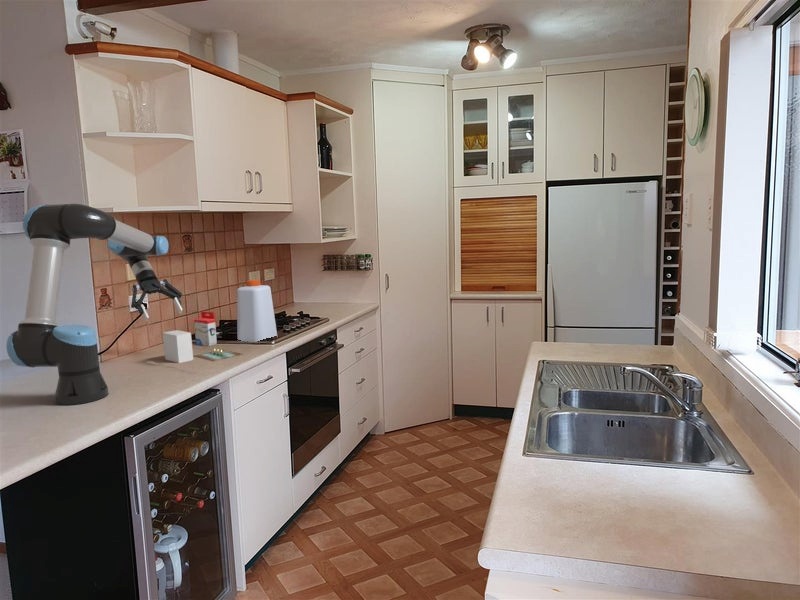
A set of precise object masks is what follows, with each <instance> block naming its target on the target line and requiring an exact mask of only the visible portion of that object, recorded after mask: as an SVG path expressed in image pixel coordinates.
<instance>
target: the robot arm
mask: <svg viewBox="0 0 800 600" xmlns="http://www.w3.org/2000/svg"><path fill="white" fill-rule="evenodd" d="M22 228H23V230H24V234H25V236H26V237H27V238H28V239H29V243H30V244H31V246H32V247H33V253H32V260H31V268H30V269H31V270H30V276H29V277H30V278H29V285H28V291H27V300H26V306H25V307H26V308H25V314H24V315H25V316H24V319H23V320H21V321H20V322H19V323H18V326H17V330H14V331H13V332H11V333H10V335H9V336H8V337H7V340H6V352H7V355H8V357H9V359H11V360H10V361H11V362H12V363H13V364H14V365H17V366H19V367H25V368H26V367H28V368H43V367H44V368H45V367H46V368H47V367H49V368H51V367H52V368H53V367H57V372H58V380H57V385H56V389H55V393H54V399H55V400H54V401H55V403H56V404H58V405H65V406H66V405H67V406H71V405H79V404H80V405H81V404H86V403H91V402H95V401H98V400H101V399H104V398H105V397H107V396H108V395H109V393H110V392H109V387H108V384H107V382H106V381H105V379H104V377H103V375H102V373H101V368H100V359H99V349H98V338H97V334H96V331H95V329H94V328H93V327H92V326H89V325H85V324H63V325H62V324H61V325H60V324H59V323H58V322H57V321H56V320H57V311H58V305H59V304H58V303H59V295H60V288H61V281H62V280H61V279H62V271H63V269H62V268H63V263H64V262H63V261H64V254H65V251H66V250H68V249H70V247H71V246H70V245H71V240H77V239H97V240H99V241H106V240H107V242H106V245H107V248H108V249H109V251H111V252H112V253H113V254H115V255H116V256H118V257H120V258H121V259H123V260H124V261H126V262H127V263H128V265H129V266H128V267H130V270H131V271H132V274H133V275H134V278H135V280H136V282H137V285H136V284H133V285H132V286H131V290H132V297H131V302H130V303H131V304H130V308H131V309H135V310H137V311H138V313H139V315H142V316H143V318H144V320H145V322H149V319H150V316H149V314H148V311H147V310H146V308H145V305H144V304H142V303H143V301H144V299H145V297H146V295H147V294H148V295H151V294H157V293H158V294H162V295H164V296H166V297H168V298H170V299H172V300H173V304H174V306H175V308H176V309H177V312H178V313H179V315H180V314H181V315H182V313H183V311H184V310H183V307H182V301H181V297H182V296H183V293H182V291H180V290H178V289H177V288H176V287H174V286H173V285H172V284H171V283H170V282H169V281H168V280H167V279H165V278H164V279H162V280H161V281H160V280H159V279H158V277H157V274H156V273H155V271H154V268H153V267H152V265H151V263H150V261H149V259H148V257H147V256H163V255H167V253H168V252H169V241H168V238H166V237H165V236H163V235H155V236H154V235H152V234H149V233H147V232H144V231H142V230H139V229H138V228H136V227H134V226H131V225H128V224H127V223H124V222H121V221H119V220H117V219H116V218H115V217H114V216H113V215H112V214H110V213H109V212H106V211H104V210H101V209H98V208H95V207H92V206H89V205H85V204H81V203H64V204H63V203H60V204H59V203H58V204H42V205H36V206H32V207H31V208H29V209H28V210H27V212H26V213H25V214H24V217H23V218H22ZM139 290H141V291H142V293H141V294H140V297H139V298H138V301H137V293H138V292H139ZM136 301H137V302H136Z"/></svg>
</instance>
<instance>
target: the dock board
mask: <svg viewBox="0 0 800 600" xmlns="http://www.w3.org/2000/svg"><path fill="white" fill-rule="evenodd" d="M220 350H222V353H223V356H220ZM242 355H244V353H241V352H236V351H232V350H226V349H223V348H222V349H219V355H217V353H216V354H215V355H213V351H209V352H204V353H200V354H195V355H193V358H196V359H197V358H198V359H200V360H201V359H202V360H206V361H210V362H217V361H220V360H221V361H222V360H226V359H229V358H233V357H239V356H242Z"/></svg>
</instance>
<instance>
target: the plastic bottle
mask: <svg viewBox="0 0 800 600" xmlns="http://www.w3.org/2000/svg"><path fill="white" fill-rule="evenodd" d="M271 289H272V288H271V287H270V285H267V284H266V285H263V284H261V280H260V279H248V280H246V285H245V286H241V287H238V288H237V289H236V307H237V308H236V314H237V315H236V320H237V321H236V322H237V324H236V327H237V329H236V331H237V337H236V338H237V339H238V340H241V341H245V342H247V341H248V342H257V341H260V340H263V339H266V338H271V337H274V336H277V337H278V331H277V323H276V318H275V317H276V316H275V310H274V302H273V296H272V290H271ZM238 340H237V341H238Z"/></svg>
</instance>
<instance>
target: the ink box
mask: <svg viewBox="0 0 800 600" xmlns="http://www.w3.org/2000/svg"><path fill="white" fill-rule="evenodd" d="M200 316H201V317H199V318H194V320H193V321H194V322H193V323H194V333H195V335H194V336H195V345H197V346H206V347H211V346H215V345H217V343H218V341H217V330H216V329H217V327H216V319H215V312H214V311H213V312H212V311H200Z"/></svg>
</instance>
